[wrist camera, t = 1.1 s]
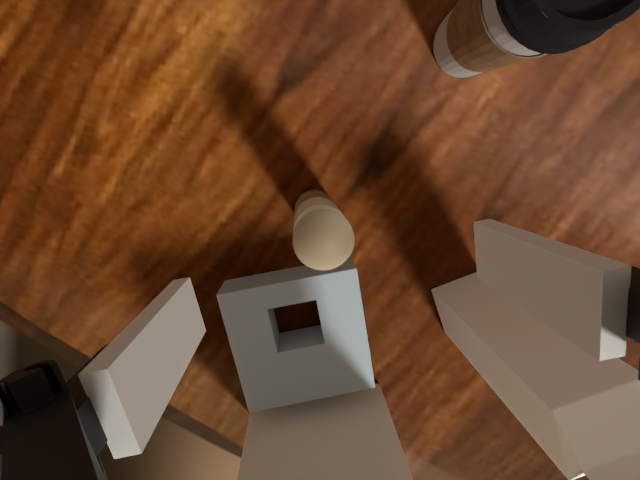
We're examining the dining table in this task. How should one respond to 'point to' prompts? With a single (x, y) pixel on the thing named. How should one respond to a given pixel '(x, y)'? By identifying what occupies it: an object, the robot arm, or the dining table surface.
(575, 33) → the coffee cup
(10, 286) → the dining table surface
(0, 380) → the robot arm
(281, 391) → the socket block
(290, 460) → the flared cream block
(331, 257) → the birch peg
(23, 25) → the dining table surface
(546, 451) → the milk
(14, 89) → the dining table surface
